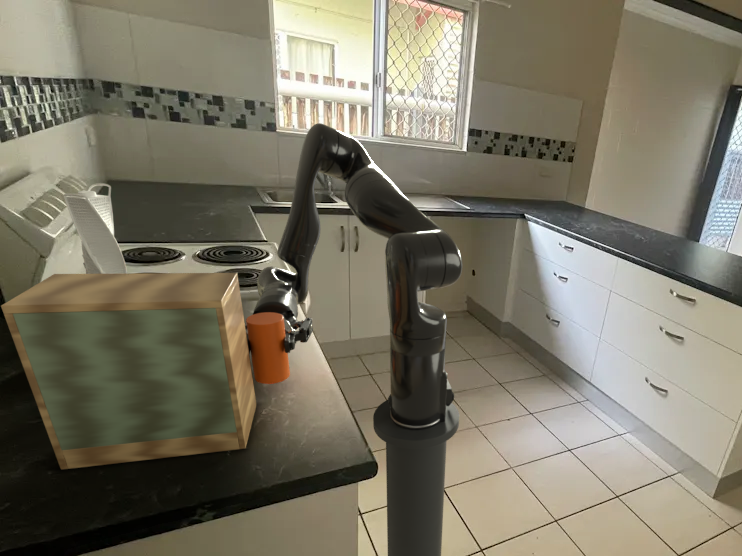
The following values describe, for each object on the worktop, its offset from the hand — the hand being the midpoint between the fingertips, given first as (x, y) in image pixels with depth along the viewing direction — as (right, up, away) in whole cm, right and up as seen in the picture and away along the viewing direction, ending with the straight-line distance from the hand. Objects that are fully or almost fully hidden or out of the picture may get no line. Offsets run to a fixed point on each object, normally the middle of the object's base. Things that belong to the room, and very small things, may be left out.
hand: (266, 348), depth 78 cm
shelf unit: (-11, -12, -8) cm, 18 cm away
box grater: (-49, +8, +29) cm, 57 cm away
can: (-1, -5, +5) cm, 7 cm away
